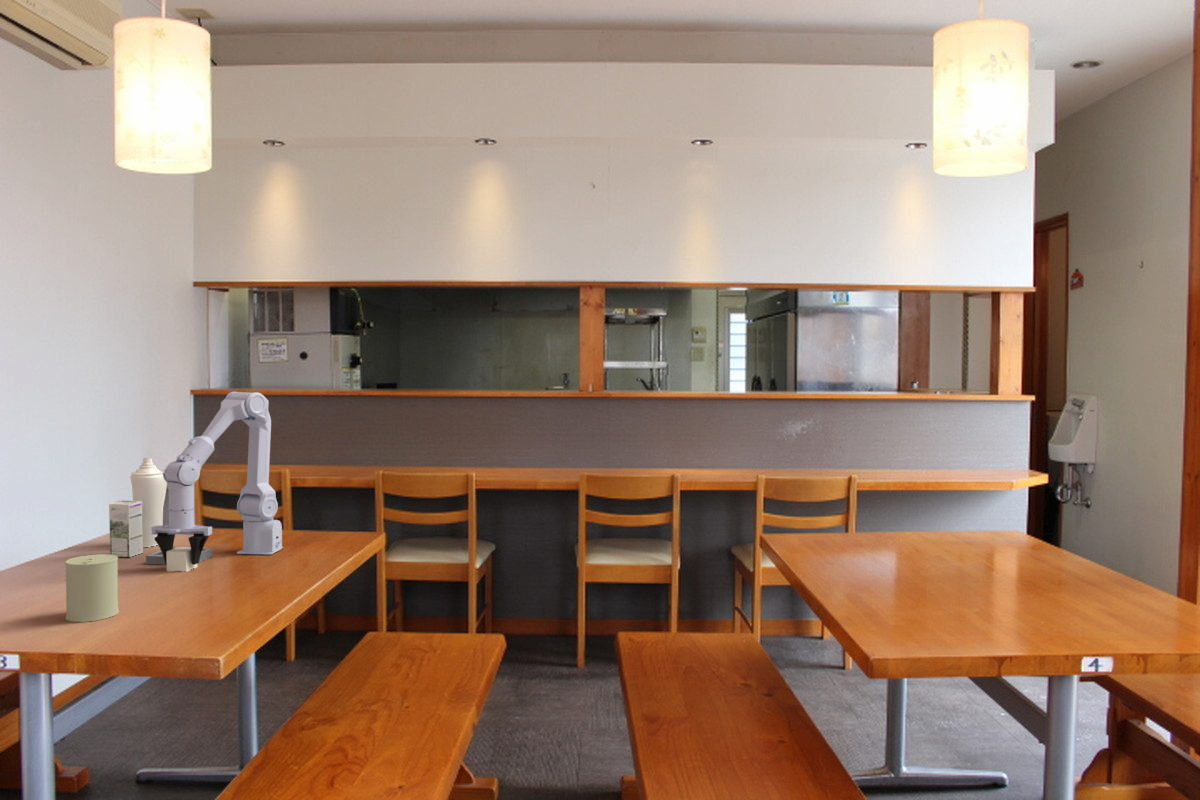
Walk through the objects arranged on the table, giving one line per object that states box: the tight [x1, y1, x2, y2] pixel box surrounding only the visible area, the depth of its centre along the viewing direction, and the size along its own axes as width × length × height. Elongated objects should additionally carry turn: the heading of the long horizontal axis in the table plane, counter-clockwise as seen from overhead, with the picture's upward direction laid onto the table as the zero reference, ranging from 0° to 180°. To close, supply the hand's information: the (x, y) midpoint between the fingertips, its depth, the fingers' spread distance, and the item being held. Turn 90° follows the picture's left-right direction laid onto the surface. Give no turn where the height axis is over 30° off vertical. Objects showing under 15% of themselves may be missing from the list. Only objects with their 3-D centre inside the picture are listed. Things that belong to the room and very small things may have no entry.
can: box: [64, 553, 120, 623], centre depth 167 cm, size 9×9×12 cm
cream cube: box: [166, 546, 198, 573], centre depth 205 cm, size 5×5×5 cm
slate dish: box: [145, 547, 213, 566], centre depth 214 cm, size 12×10×2 cm
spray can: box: [129, 457, 168, 548], centre depth 231 cm, size 12×11×25 cm
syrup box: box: [108, 499, 144, 558], centre depth 219 cm, size 6×6×14 cm
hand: (182, 563), depth 206 cm, fingers open, 6 cm apart
